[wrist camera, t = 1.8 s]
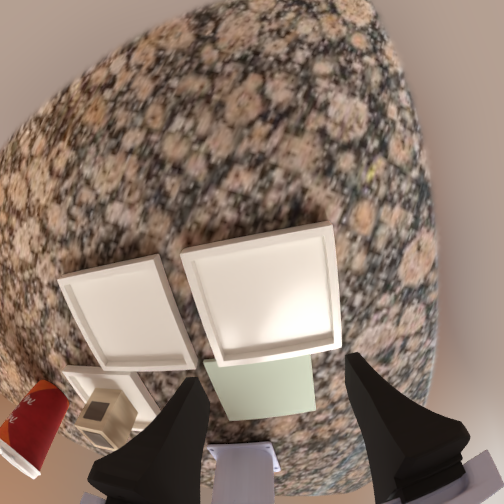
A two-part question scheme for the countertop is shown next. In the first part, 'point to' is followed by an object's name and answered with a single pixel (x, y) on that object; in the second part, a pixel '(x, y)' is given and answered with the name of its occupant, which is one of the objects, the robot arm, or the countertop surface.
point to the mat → (264, 387)
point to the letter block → (107, 418)
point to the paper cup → (33, 427)
